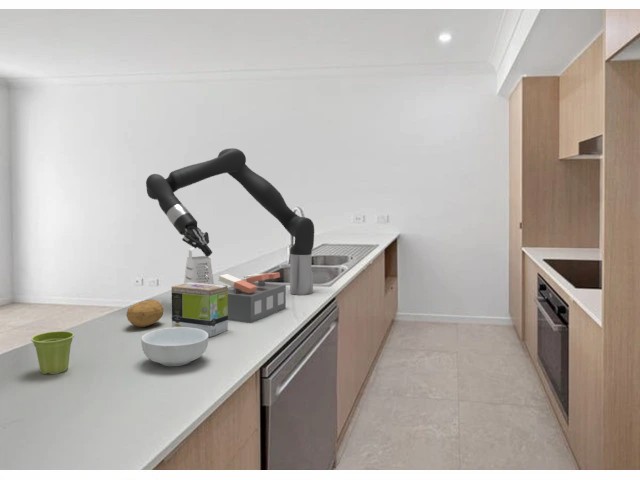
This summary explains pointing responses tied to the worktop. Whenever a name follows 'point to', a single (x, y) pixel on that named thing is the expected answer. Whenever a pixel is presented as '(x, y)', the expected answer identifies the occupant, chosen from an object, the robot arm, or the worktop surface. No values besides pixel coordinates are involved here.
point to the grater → (198, 269)
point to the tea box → (200, 307)
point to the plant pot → (53, 351)
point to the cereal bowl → (175, 345)
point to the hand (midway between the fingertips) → (209, 254)
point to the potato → (145, 313)
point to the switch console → (256, 301)
